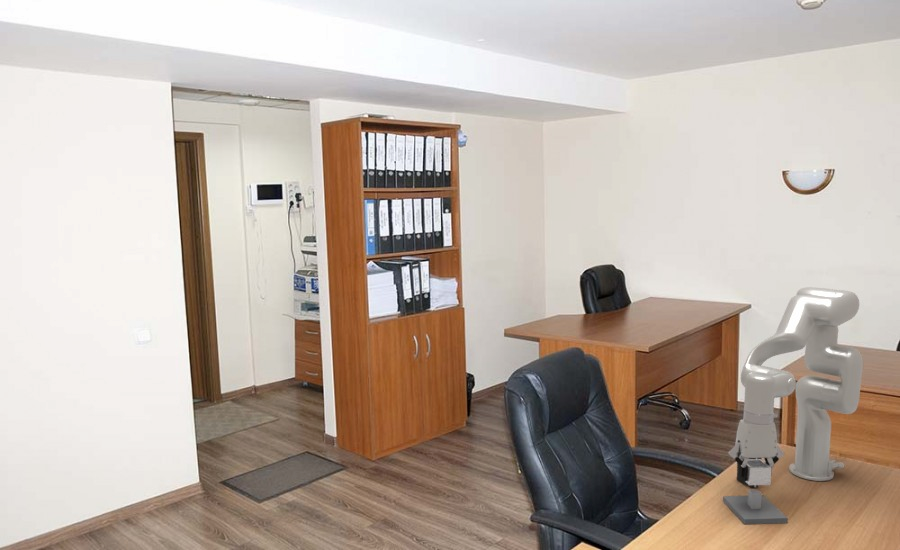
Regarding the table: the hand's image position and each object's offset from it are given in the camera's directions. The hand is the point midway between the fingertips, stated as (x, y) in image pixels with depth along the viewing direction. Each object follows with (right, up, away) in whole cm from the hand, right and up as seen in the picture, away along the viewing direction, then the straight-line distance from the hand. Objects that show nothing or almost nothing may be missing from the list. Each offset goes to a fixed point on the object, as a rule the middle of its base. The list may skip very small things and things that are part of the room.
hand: (754, 478), depth 193 cm
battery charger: (+7, -8, +20) cm, 22 cm away
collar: (0, -1, 0) cm, 1 cm away
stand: (0, -10, +2) cm, 10 cm away
